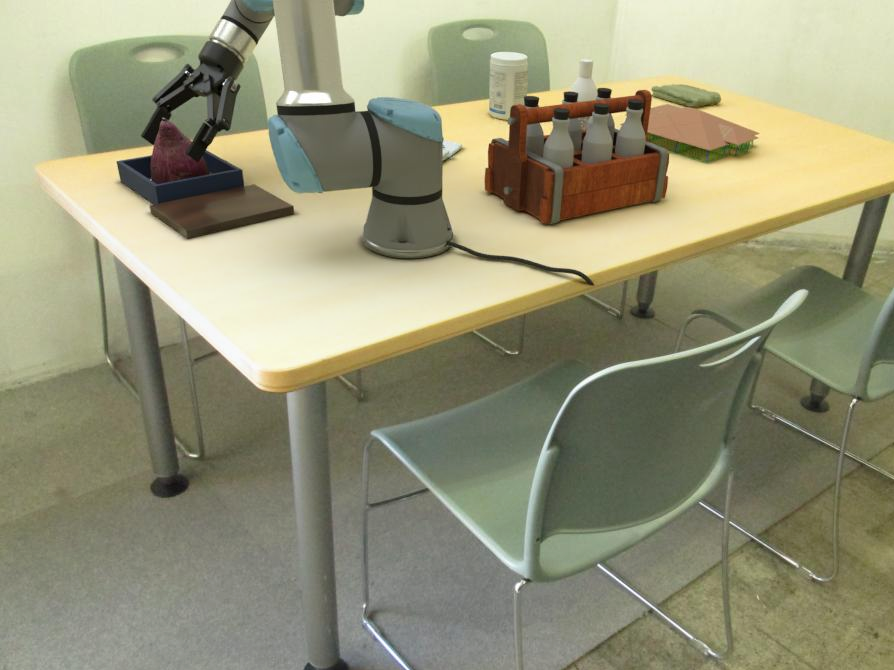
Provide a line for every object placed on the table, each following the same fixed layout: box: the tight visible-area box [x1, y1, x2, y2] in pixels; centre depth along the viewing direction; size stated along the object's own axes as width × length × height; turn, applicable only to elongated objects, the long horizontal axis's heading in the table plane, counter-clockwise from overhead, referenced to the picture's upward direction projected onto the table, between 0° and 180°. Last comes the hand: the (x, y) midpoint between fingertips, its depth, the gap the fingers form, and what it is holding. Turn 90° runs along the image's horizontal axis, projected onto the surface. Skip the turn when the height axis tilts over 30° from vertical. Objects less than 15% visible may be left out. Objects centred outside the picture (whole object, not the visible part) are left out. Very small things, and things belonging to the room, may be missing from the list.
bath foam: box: [569, 58, 598, 130], centre depth 191 cm, size 7×7×20 cm
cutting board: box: [149, 183, 295, 239], centre depth 151 cm, size 14×20×2 cm
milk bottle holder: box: [484, 87, 670, 225], centre depth 165 cm, size 21×35×19 cm, turn 126°
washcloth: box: [650, 83, 722, 108], centre depth 244 cm, size 13×18×3 cm
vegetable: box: [150, 118, 210, 184], centre depth 157 cm, size 10×10×15 cm
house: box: [619, 103, 760, 164], centre depth 207 cm, size 23×33×8 cm
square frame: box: [116, 149, 245, 205], centre depth 160 cm, size 17×17×4 cm
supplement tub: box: [488, 51, 529, 121], centre depth 214 cm, size 10×10×15 cm
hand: (169, 149), depth 156 cm, fingers open, 13 cm apart
